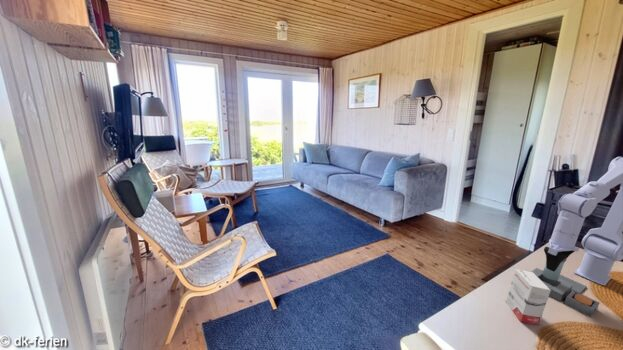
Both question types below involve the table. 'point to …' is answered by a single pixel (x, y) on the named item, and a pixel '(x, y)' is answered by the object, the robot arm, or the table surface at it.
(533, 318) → the ink box
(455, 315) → the table surface
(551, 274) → the cylinder
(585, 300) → the release button
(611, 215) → the robot arm
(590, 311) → the button housing
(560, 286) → the socket block
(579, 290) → the slate mat
